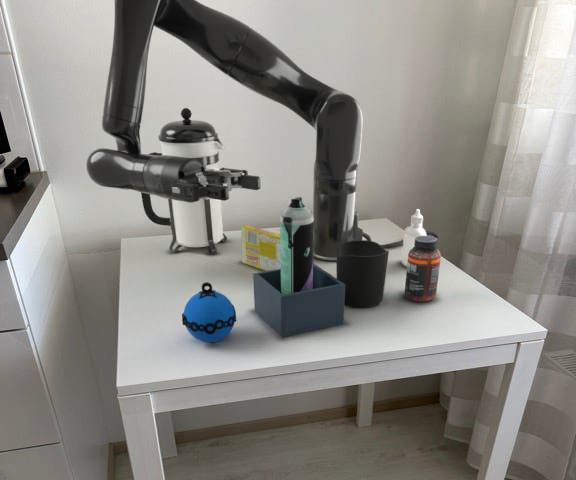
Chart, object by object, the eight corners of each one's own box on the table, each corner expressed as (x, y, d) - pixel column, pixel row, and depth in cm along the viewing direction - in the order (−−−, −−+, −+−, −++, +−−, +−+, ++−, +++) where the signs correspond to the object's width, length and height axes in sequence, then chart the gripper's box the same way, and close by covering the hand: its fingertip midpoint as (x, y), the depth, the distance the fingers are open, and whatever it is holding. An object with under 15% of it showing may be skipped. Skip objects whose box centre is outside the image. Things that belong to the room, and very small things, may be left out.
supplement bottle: (437, 292, 109) (445, 235, 103) (433, 304, 104) (441, 245, 98) (406, 289, 111) (412, 232, 105) (401, 300, 106) (407, 241, 100)
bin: (312, 299, 107) (312, 262, 103) (343, 324, 97) (345, 284, 94) (254, 311, 102) (252, 273, 99) (281, 337, 93) (280, 297, 89)
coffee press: (212, 232, 144) (201, 102, 128) (240, 249, 132) (232, 108, 117) (147, 244, 137) (127, 107, 121) (171, 263, 125) (152, 114, 109)
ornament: (235, 326, 97) (231, 271, 92) (239, 349, 90) (235, 291, 84) (185, 330, 96) (178, 275, 91) (185, 354, 89) (178, 295, 83)
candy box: (300, 278, 116) (300, 239, 112) (293, 281, 115) (292, 241, 110) (248, 260, 126) (246, 223, 121) (241, 262, 125) (239, 225, 120)
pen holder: (390, 294, 108) (394, 243, 103) (376, 313, 101) (380, 259, 96) (344, 287, 112) (346, 237, 107) (327, 304, 104) (329, 252, 99)
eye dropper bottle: (402, 269, 120) (408, 213, 114) (400, 260, 125) (406, 206, 118) (423, 270, 120) (430, 213, 113) (420, 261, 124) (427, 206, 118)
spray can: (309, 321, 97) (310, 202, 86) (278, 318, 98) (276, 201, 87) (314, 308, 101) (316, 194, 91) (285, 305, 102) (283, 193, 92)
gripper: (142, 163, 95) (214, 172, 87) (199, 150, 105) (268, 157, 97) (148, 207, 99) (218, 220, 91) (203, 191, 109) (269, 201, 101)
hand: (243, 188), depth 94 cm, fingers open, 8 cm apart
